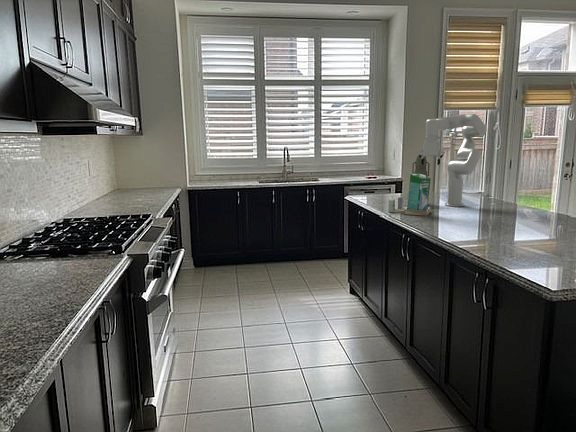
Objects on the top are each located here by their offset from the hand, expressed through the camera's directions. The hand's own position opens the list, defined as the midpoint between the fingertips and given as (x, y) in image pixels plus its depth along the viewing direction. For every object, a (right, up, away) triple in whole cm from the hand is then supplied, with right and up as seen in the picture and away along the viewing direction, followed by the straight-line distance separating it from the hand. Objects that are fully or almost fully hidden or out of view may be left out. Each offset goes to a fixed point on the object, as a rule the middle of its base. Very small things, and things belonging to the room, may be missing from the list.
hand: (430, 164), depth 290 cm
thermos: (+3, -25, +32) cm, 41 cm away
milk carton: (-10, -32, -4) cm, 34 cm away
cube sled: (-12, -29, +9) cm, 33 cm away
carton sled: (-15, -31, -2) cm, 35 cm away
